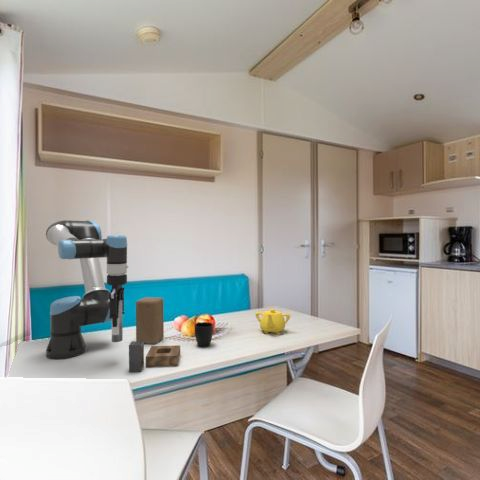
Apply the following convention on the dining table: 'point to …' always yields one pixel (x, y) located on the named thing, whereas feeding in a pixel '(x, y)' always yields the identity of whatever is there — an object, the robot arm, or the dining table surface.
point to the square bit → (136, 356)
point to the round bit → (119, 337)
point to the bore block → (163, 356)
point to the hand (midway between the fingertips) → (117, 332)
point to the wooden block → (149, 320)
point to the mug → (203, 333)
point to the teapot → (272, 321)
